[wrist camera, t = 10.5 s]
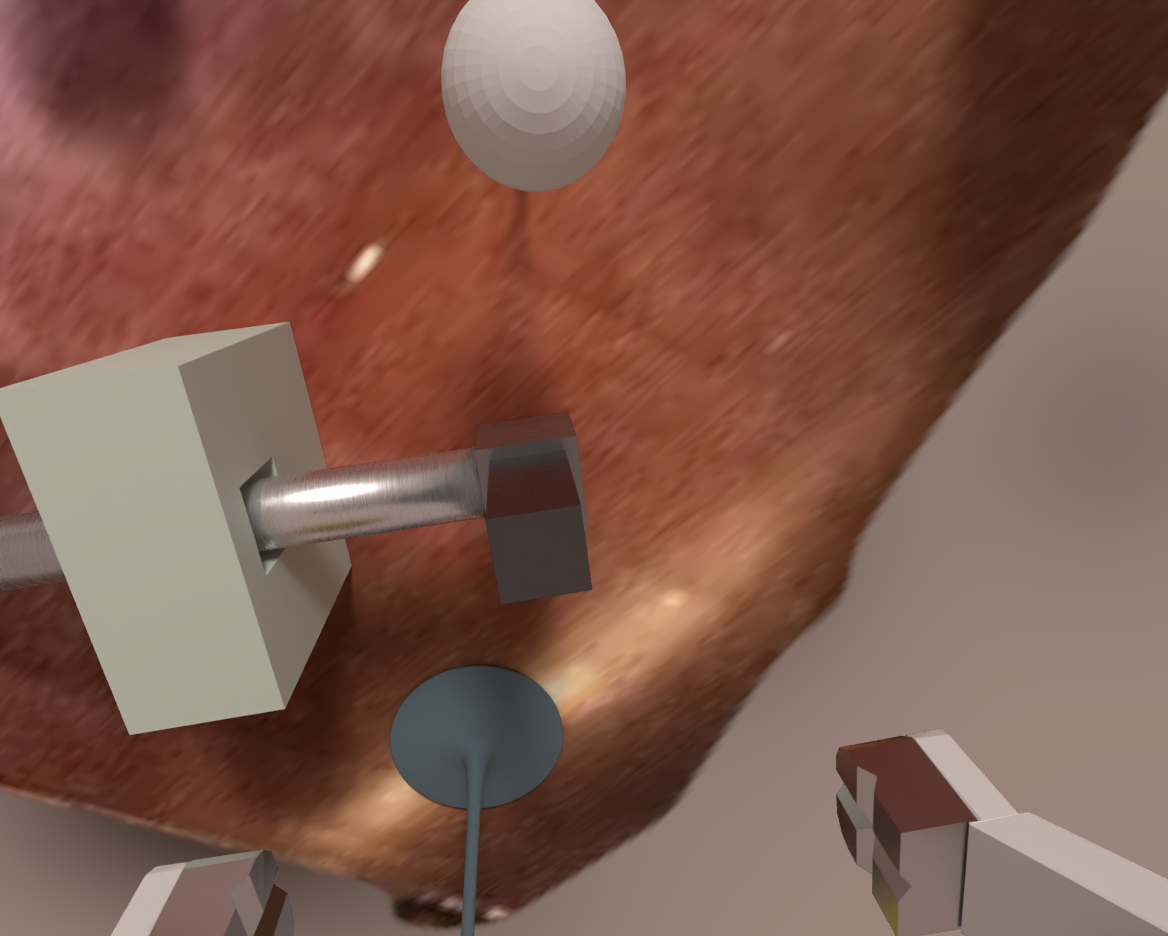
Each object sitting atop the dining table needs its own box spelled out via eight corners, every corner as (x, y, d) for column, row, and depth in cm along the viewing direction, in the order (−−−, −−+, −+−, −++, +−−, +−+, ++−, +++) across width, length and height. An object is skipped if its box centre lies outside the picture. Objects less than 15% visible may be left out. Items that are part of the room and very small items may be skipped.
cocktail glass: (530, 881, 49) (554, 1491, 25) (281, 791, 44) (24, 1431, 20) (671, 683, 45) (858, 1184, 21) (414, 562, 40) (285, 1026, 17)
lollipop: (465, 58, 33) (436, -80, 18) (590, 75, 33) (654, -45, 19) (460, 199, 34) (428, 174, 20) (578, 212, 35) (628, 196, 21)
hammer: (567, 411, 31) (595, 487, 22) (578, 494, 32) (608, 600, 23) (-18, 495, 30) (-262, 617, 20) (19, 579, 31) (-195, 730, 21)
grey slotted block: (289, 321, 35) (178, 366, 23) (351, 565, 40) (284, 708, 28) (168, 337, 35) (-10, 391, 23) (244, 582, 39) (129, 735, 27)
